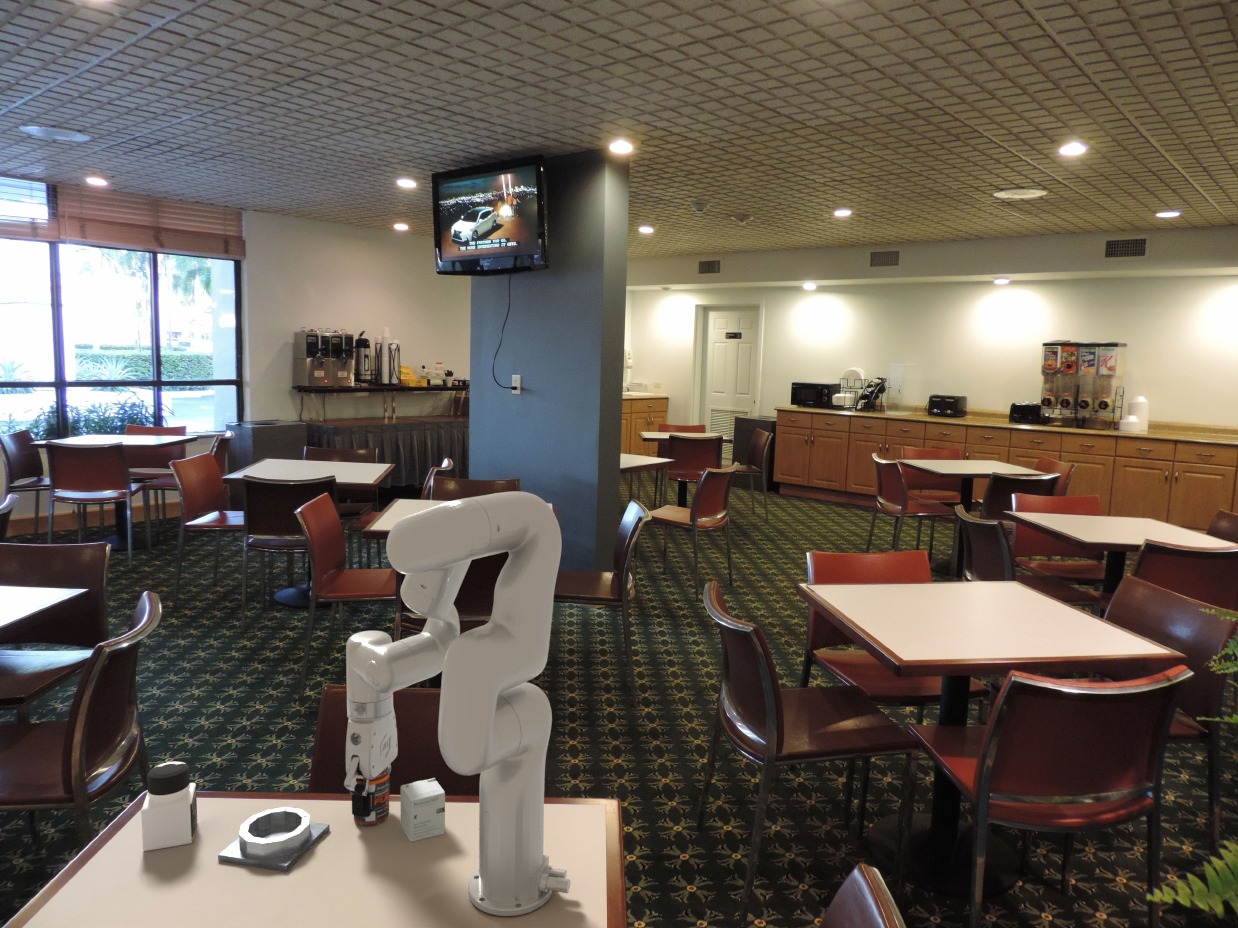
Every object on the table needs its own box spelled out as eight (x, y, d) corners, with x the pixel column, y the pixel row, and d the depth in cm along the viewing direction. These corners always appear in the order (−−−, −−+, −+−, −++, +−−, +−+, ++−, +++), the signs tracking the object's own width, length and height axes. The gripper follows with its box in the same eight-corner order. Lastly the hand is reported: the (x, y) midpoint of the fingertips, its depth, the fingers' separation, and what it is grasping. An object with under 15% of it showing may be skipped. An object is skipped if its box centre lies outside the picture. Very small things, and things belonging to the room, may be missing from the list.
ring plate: (329, 829, 138) (329, 809, 137) (286, 871, 126) (286, 850, 126) (266, 820, 140) (265, 800, 140) (218, 860, 128) (217, 839, 128)
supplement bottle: (379, 829, 138) (378, 765, 137) (346, 825, 139) (345, 761, 138) (395, 811, 144) (395, 749, 142) (364, 807, 145) (363, 746, 144)
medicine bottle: (192, 843, 133) (190, 773, 131) (142, 852, 130) (139, 780, 129) (197, 821, 139) (195, 754, 138) (149, 828, 137) (146, 760, 135)
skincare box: (410, 843, 134) (409, 800, 133) (399, 825, 139) (399, 784, 139) (446, 833, 137) (445, 791, 137) (434, 816, 143) (434, 776, 142)
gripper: (364, 728, 130) (365, 835, 132) (413, 688, 147) (414, 783, 149) (321, 723, 132) (323, 828, 134) (375, 684, 148) (376, 778, 150)
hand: (371, 803), depth 141 cm, fingers closed on supplement bottle, 5 cm apart
